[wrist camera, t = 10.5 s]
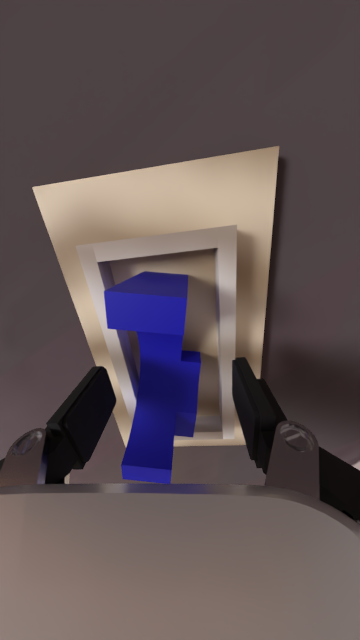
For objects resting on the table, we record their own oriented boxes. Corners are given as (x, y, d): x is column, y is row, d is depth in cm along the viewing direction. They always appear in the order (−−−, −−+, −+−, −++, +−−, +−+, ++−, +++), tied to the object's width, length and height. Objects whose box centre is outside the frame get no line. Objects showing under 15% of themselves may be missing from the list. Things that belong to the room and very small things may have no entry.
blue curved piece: (192, 405, 16) (194, 486, 11) (145, 400, 16) (122, 478, 11) (210, 276, 12) (229, 301, 6) (144, 271, 12) (103, 290, 6)
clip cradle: (252, 436, 19) (260, 462, 16) (128, 439, 20) (120, 463, 18) (272, 154, 10) (297, 125, 7) (42, 191, 11) (5, 176, 9)
